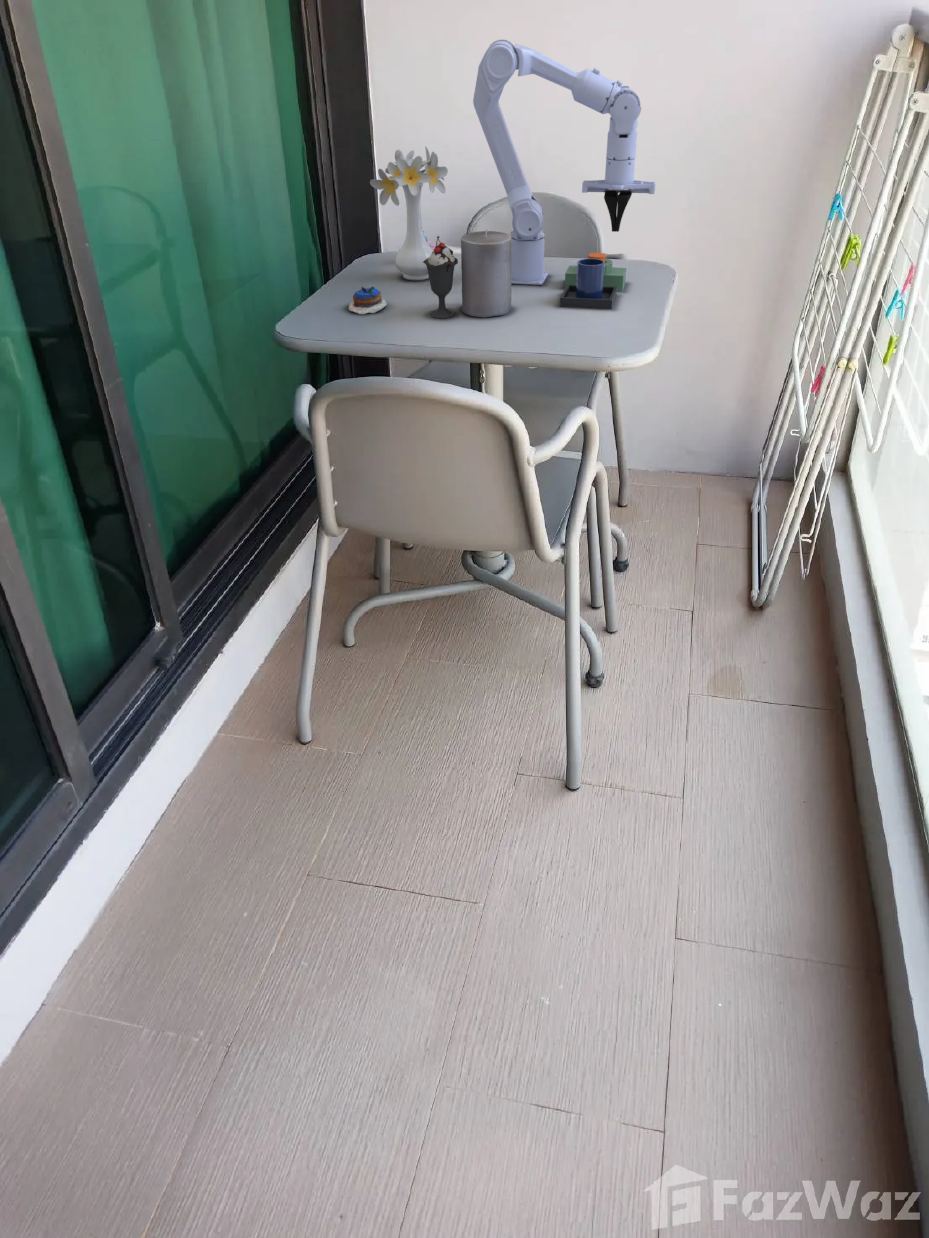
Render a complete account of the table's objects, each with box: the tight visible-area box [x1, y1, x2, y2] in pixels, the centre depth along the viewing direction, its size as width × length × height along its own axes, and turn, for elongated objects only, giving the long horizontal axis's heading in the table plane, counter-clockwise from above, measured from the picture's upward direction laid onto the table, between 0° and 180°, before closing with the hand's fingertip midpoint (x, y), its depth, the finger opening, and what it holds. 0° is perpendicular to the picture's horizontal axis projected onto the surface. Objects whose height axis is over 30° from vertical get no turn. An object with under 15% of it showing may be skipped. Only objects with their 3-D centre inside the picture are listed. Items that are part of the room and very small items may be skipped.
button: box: [587, 252, 607, 262], centre depth 186 cm, size 4×4×2 cm
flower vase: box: [369, 145, 449, 281], centre depth 190 cm, size 13×18×25 cm
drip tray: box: [559, 285, 618, 310], centre depth 180 cm, size 10×9×2 cm
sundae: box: [423, 235, 459, 319], centre depth 172 cm, size 7×7×15 cm
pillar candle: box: [460, 229, 512, 318], centre depth 173 cm, size 10×10×15 cm
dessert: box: [348, 286, 388, 315], centre depth 180 cm, size 8×7×6 cm
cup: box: [576, 258, 605, 299], centre depth 178 cm, size 5×5×7 cm
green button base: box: [564, 257, 627, 293], centre depth 188 cm, size 12×6×5 cm, turn 76°
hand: (615, 230), depth 187 cm, fingers closed
